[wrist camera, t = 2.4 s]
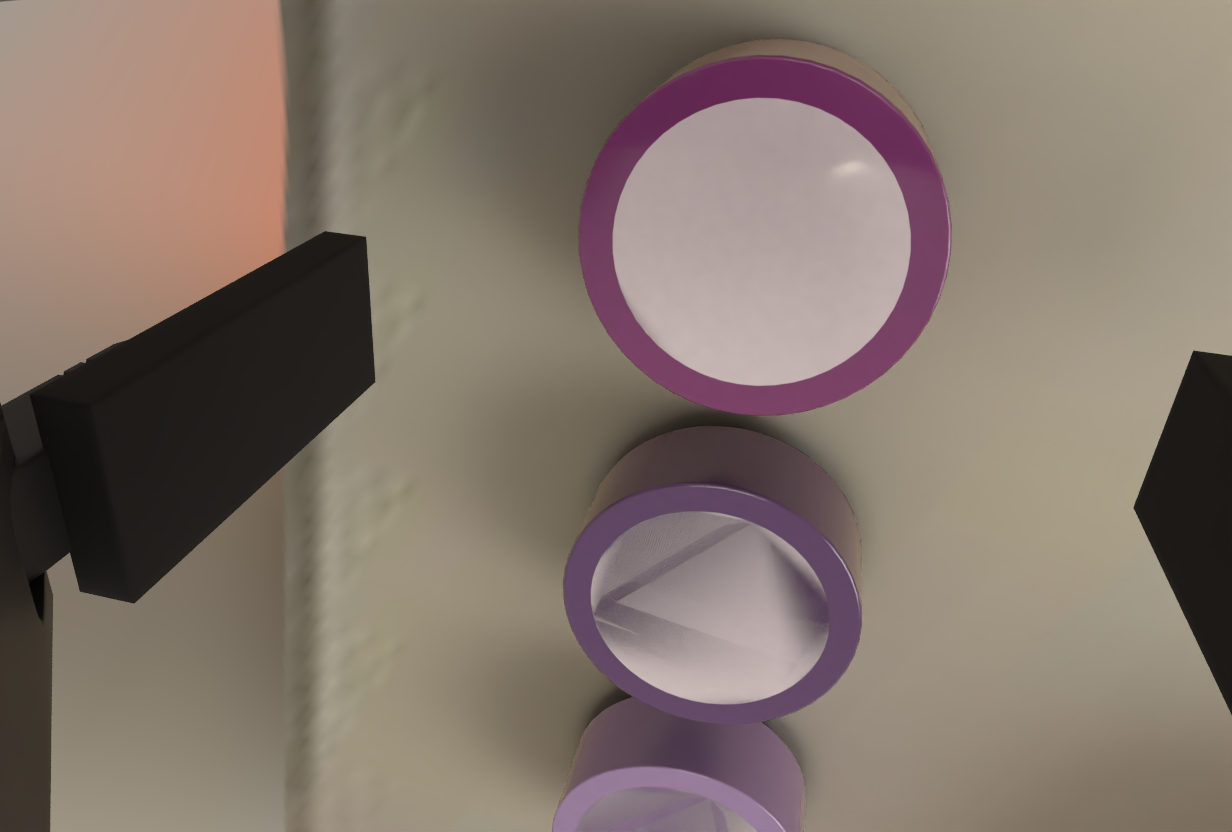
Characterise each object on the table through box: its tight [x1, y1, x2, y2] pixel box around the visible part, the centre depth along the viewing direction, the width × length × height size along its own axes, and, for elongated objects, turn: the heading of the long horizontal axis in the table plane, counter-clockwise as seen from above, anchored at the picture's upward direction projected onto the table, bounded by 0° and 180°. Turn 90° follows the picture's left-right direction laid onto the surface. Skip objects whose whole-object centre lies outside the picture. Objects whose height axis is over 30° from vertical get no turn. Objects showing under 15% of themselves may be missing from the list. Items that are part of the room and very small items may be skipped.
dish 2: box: [552, 697, 806, 832], centre depth 32 cm, size 8×8×4 cm
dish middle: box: [563, 426, 862, 725], centre depth 27 cm, size 8×8×4 cm
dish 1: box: [578, 39, 952, 416], centre depth 22 cm, size 8×8×4 cm
